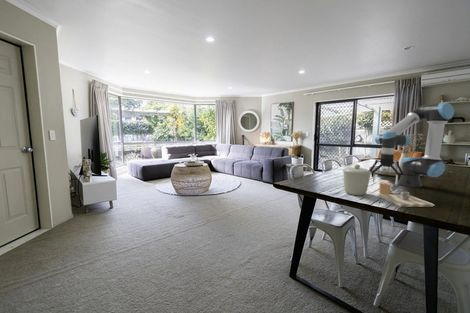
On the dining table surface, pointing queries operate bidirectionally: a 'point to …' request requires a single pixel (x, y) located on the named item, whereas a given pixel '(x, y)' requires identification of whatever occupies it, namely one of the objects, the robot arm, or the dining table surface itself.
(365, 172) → the canister
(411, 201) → the cream flat piece
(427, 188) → the dining table surface
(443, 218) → the dining table surface
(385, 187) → the orange block
